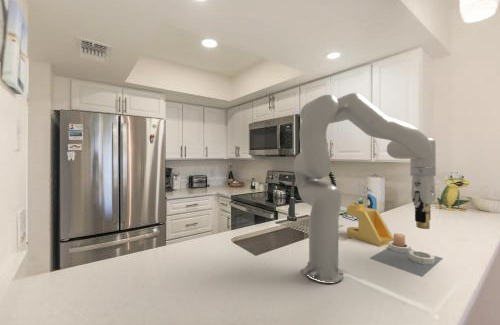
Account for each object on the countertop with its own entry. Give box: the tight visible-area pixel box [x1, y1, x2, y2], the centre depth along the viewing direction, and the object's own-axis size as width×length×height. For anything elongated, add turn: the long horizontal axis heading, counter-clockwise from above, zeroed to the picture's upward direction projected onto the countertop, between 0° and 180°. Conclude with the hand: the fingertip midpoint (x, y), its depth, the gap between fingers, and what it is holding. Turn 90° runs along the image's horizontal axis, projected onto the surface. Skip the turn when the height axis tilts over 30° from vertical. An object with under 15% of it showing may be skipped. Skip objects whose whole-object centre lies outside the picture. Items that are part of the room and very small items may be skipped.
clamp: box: [346, 203, 394, 247], centre depth 110 cm, size 20×9×16 cm, turn 26°
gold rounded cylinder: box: [415, 201, 431, 230], centre depth 86 cm, size 4×4×10 cm
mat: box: [369, 247, 444, 277], centre depth 88 cm, size 22×17×1 cm
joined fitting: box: [387, 233, 412, 253], centre depth 96 cm, size 7×7×6 cm
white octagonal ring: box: [409, 249, 436, 265], centre depth 86 cm, size 7×7×2 cm
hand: (422, 220), depth 86 cm, fingers closed on gold rounded cylinder, 4 cm apart
